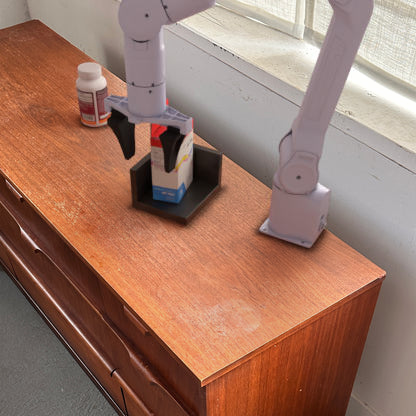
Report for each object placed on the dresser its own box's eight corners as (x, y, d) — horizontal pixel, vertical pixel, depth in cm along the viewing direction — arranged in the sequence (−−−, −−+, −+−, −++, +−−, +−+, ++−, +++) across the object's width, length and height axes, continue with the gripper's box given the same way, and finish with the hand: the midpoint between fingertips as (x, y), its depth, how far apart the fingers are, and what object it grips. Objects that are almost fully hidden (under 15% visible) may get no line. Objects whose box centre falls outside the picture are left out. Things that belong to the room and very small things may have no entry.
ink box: (178, 205, 109) (177, 124, 98) (151, 199, 110) (148, 119, 99) (193, 179, 115) (194, 100, 104) (168, 174, 115) (166, 96, 104)
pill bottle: (106, 112, 134) (101, 58, 126) (113, 125, 130) (108, 71, 122) (78, 116, 132) (70, 62, 124) (84, 129, 129) (77, 75, 120)
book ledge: (221, 189, 115) (222, 151, 110) (186, 225, 108) (186, 187, 102) (169, 172, 119) (168, 135, 113) (132, 207, 111) (129, 169, 105)
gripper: (88, 77, 91) (98, 162, 101) (174, 101, 87) (176, 188, 97) (115, 60, 95) (122, 143, 105) (199, 82, 91) (198, 167, 101)
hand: (149, 163), depth 101 cm, fingers open, 7 cm apart
